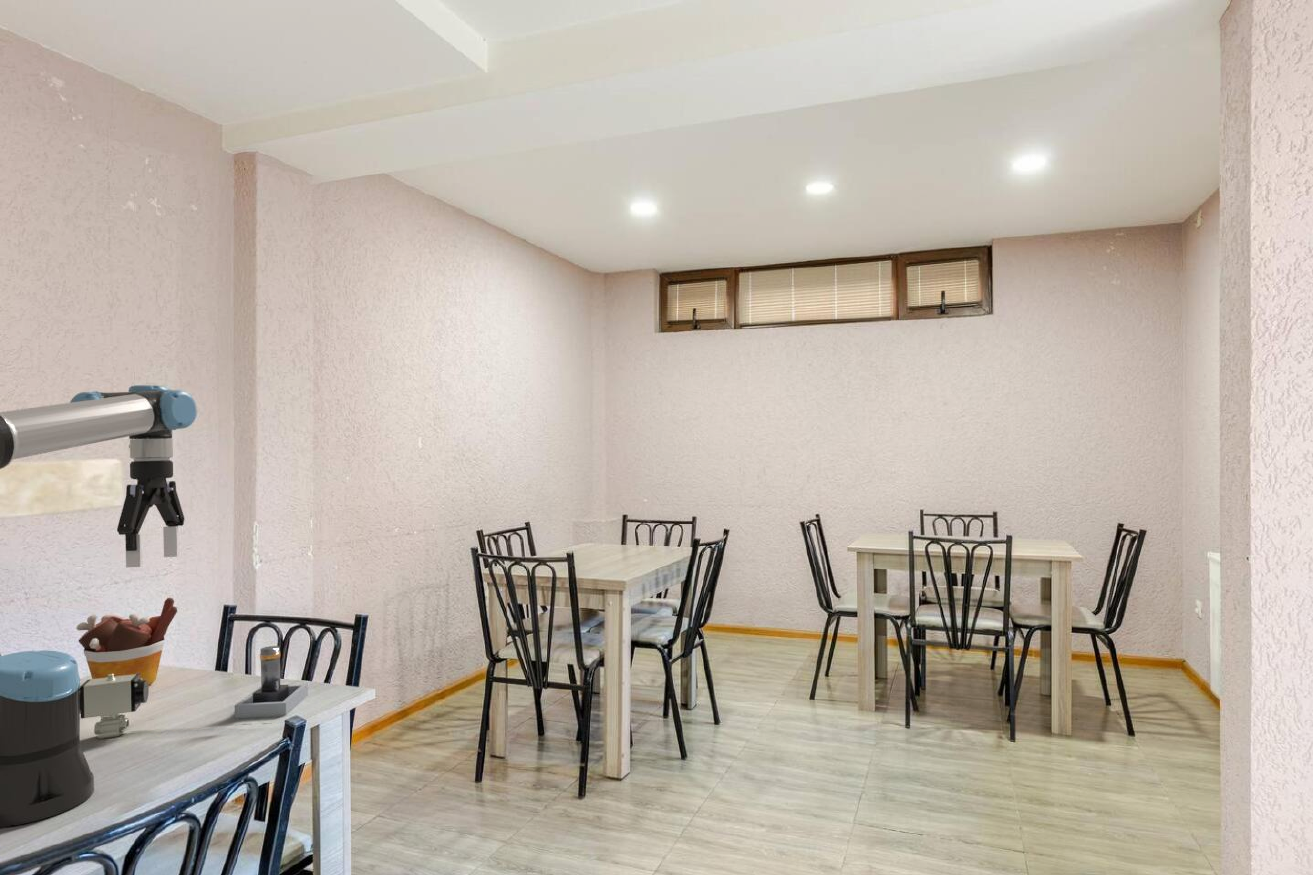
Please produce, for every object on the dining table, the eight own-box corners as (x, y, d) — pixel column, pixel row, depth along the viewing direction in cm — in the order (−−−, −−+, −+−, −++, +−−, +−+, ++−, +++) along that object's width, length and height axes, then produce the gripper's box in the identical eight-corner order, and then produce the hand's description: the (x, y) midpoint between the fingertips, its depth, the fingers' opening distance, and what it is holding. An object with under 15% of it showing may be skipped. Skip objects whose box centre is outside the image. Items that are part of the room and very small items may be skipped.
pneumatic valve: (144, 734, 150) (142, 673, 150) (71, 744, 146) (70, 681, 146) (150, 724, 156) (149, 665, 156) (81, 734, 151) (79, 673, 151)
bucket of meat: (71, 704, 169) (69, 614, 169) (81, 684, 183) (80, 601, 183) (178, 687, 179) (176, 603, 179) (179, 670, 194) (178, 591, 194)
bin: (286, 722, 155) (285, 702, 155) (235, 725, 154) (234, 705, 154) (308, 702, 167) (307, 684, 167) (260, 704, 166) (260, 686, 166)
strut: (277, 714, 158) (276, 651, 158) (253, 714, 158) (251, 651, 158) (288, 705, 163) (287, 644, 163) (265, 706, 163) (264, 645, 163)
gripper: (165, 458, 171) (167, 553, 171) (93, 461, 146) (96, 572, 146) (200, 457, 172) (202, 552, 172) (135, 460, 147) (137, 570, 147)
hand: (153, 561), depth 159 cm, fingers open, 13 cm apart
